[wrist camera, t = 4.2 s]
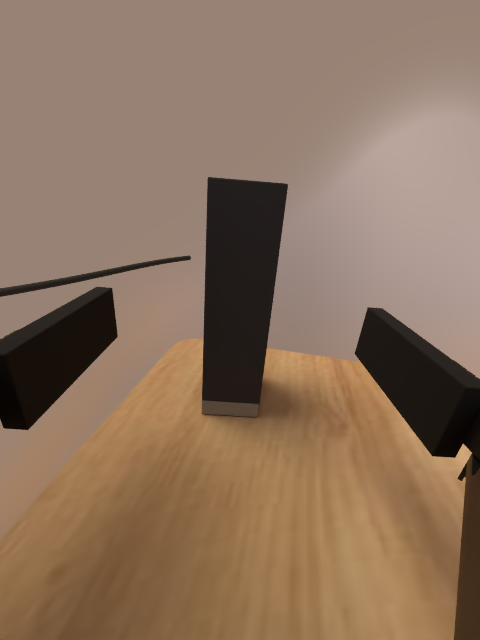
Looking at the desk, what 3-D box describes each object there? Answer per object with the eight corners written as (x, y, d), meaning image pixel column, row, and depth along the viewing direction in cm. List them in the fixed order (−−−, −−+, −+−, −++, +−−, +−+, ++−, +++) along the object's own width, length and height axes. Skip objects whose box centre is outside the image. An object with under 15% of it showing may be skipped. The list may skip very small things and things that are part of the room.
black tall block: (257, 417, 19) (288, 183, 13) (201, 414, 19) (207, 176, 13) (254, 376, 24) (276, 189, 18) (209, 373, 24) (216, 184, 18)
